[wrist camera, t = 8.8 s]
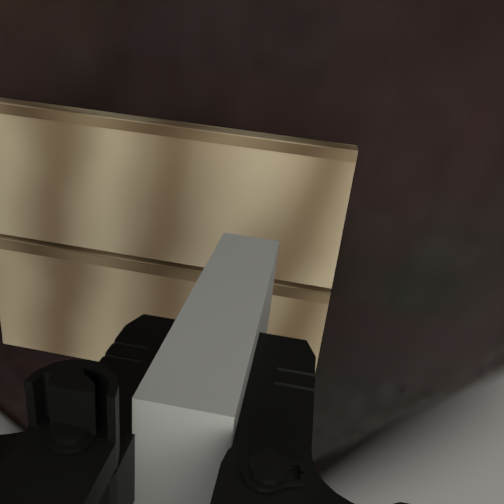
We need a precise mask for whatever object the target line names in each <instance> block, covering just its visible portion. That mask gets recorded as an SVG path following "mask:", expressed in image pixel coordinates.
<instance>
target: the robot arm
mask: <svg viewBox="0 0 504 504" xmlns="http://www.w3.org/2000/svg"><path fill="white" fill-rule="evenodd" d="M278 249H279V241H276V240H269V239H263V238H256V237H250V236H243V235H237V234H230V233H223V235H222V237H221V239H220V240H219V242H218V244H217V246H216V248H215V249H214V251H213V253H212V255H211V257H210V258H209V260H208V262H207V264H206V266H205V267H204V269H203V271H202V273H201V275H200V276H199V278H198V280H197V282H196V284H195V285H194V287H193V289H192V291H191V293H190V294H189V296H188V298H187V300H186V302H185V303H184V305H183V307H182V309H181V311H180V313H179V314H178V316H177V318H176V319H170V318H164V317H159V316H153V315H147V314H143V315H141V316H140V317H138V318H136V319H135V320H133V321H131V322H130V323H128V324H126V325H125V326H124V328H123V329H122V330H121V332H120V333H119V335H118V336H117V337H116V339H115V340H114V344H113V343H112V344H111V346H110V347H109V348H108V350H107V351H106V353H105V356H103V357H102V358H101V360H100V361H99V362H98V363H97V362H94V361H91V360H76V359H72V360H67V361H61V362H55V363H52V364H50V365H48V366H45V367H43V368H41V369H38V370H37V371H35V372H34V373H33V374H32V375H30V376H29V377H28V378H27V379H25V380H24V385H25V394H26V402H27V411H28V420H29V426H28V428H27V429H26V430H25V431H24V432H19V433H13V434H5V435H0V504H354V503H352V502H350V501H348V500H346V499H345V498H343V497H342V496H340V495H339V494H337V493H335V492H334V491H333V490H332V489H331V488H330V487H329V486H328V485H327V484H326V483H325V482H324V481H323V479H322V478H321V477H320V475H319V474H318V472H317V470H316V468H315V465H314V463H313V460H312V451H311V448H312V427H313V406H314V385H315V364H316V356H315V354H314V353H313V351H312V349H311V347H310V345H309V344H308V342H307V340H302V339H296V338H291V337H285V336H279V335H273V334H267V328H268V321H269V314H270V307H271V300H272V292H273V285H274V278H275V271H276V263H277V256H278ZM395 504H407V503H402V502H400V503H395Z"/></svg>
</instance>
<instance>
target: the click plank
mask: <svg viewBox="0 0 504 504" xmlns="http://www.w3.org/2000/svg"><path fill="white" fill-rule="evenodd" d="M357 155H358V148H357V145H351V144H343V143H336V142H328V141H321V140H314V139H306V138H299V137H291V136H284V135H276V134H269V133H262V132H254V131H247V130H239V129H232V128H224V127H217V126H209V125H202V124H195V123H187V122H180V121H172V120H165V119H157V118H150V117H143V116H135V115H128V114H120V113H113V112H105V111H98V110H91V109H83V108H76V107H68V106H61V105H53V104H46V103H39V102H31V101H24V100H16V99H9V98H1V97H0V234H5V235H11V236H17V237H23V238H29V239H35V240H41V241H47V242H53V243H59V244H65V245H71V246H77V247H83V248H90V249H96V250H102V251H108V252H114V253H120V254H126V255H132V256H138V257H144V258H150V259H156V260H162V261H168V262H174V263H180V264H186V265H192V266H198V267H205V266H206V264H207V262H208V260H209V258H210V257H211V255H212V253H213V251H214V249H215V248H216V246H217V244H218V242H219V240H220V239H221V237H222V235H223V233H230V234H237V235H243V236H250V237H256V238H263V239H269V240H276V241H279V249H278V256H277V263H276V271H275V278H274V279H277V280H283V281H289V282H295V283H301V284H307V285H313V286H319V287H325V288H331V289H332V283H333V278H334V273H335V268H336V263H337V258H338V252H339V247H340V242H341V237H342V232H343V227H344V221H345V216H346V211H347V206H348V201H349V196H350V190H351V185H352V180H353V175H354V170H355V165H356V160H357Z"/></svg>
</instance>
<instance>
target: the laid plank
mask: <svg viewBox="0 0 504 504" xmlns="http://www.w3.org/2000/svg"><path fill="white" fill-rule="evenodd" d="M203 269H204V267H198V266H192V265H186V264H180V263H174V262H168V261H162V260H156V259H150V258H144V257H138V256H132V255H126V254H120V253H114V252H108V251H102V250H96V249H90V248H83V247H77V246H71V245H65V244H59V243H53V242H47V241H41V240H35V239H29V238H23V237H17V236H11V235H5V234H0V322H1V330H2V338H3V343H4V344H9V345H14V346H20V347H25V348H30V349H35V350H41V351H46V352H51V353H56V354H62V355H67V356H72V357H77V358H83V359H88V360H93V361H98V362H99V361H100V360H101V358H102V357H103V356H105V353H106V351H107V350H108V348H109V347H110V346H111V344H112V343H113V344H114V340H115V339H116V337H117V336H118V335H119V333H120V332H121V330H122V329H123V328H124V326H125V325H126V324H128V323H130V322H131V321H133V320H135V319H136V318H138V317H140V316H141V315H143V314H147V315H153V316H159V317H164V318H170V319H176V318H177V316H178V314H179V313H180V311H181V309H182V307H183V305H184V303H185V302H186V300H187V298H188V296H189V294H190V293H191V291H192V289H193V287H194V285H195V284H196V282H197V280H198V278H199V276H200V275H201V273H202V271H203ZM330 294H331V288H325V287H319V286H313V285H307V284H301V283H295V282H289V281H283V280H277V279H274V285H273V292H272V300H271V307H270V314H269V321H268V328H267V334H273V335H279V336H285V337H291V338H296V339H302V340H307V342H308V344H309V345H310V347H311V349H312V351H313V353H314V354H315V356H316V364H315V371H316V366H317V361H318V356H319V351H320V346H321V340H322V335H323V330H324V325H325V320H326V314H327V309H328V304H329V299H330Z"/></svg>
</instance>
